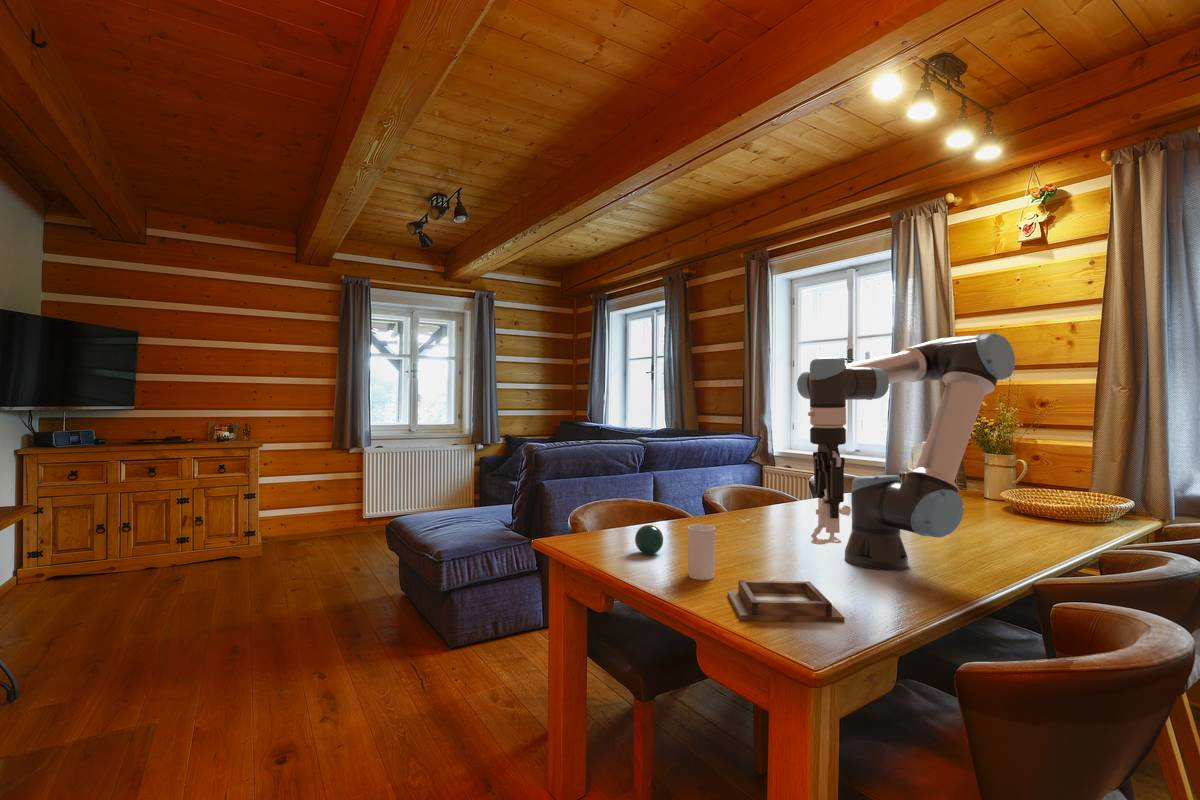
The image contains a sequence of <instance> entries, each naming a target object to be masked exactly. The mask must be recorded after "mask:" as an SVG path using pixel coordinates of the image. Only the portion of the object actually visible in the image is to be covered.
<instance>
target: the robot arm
mask: <svg viewBox="0 0 1200 800" xmlns="http://www.w3.org/2000/svg"><path fill="white" fill-rule="evenodd" d="M1015 367H1016V358H1015V352H1014V350H1013V347H1012V345H1011V343H1010V341H1008V339H1007V338H1006V337H1005V336H1004V335H1001V334H1000V333H996V332H995V333H994V332H993V333H992V332H991V333H984V332H980V333H978V334H971V335H961V336H952V337H951V336H950V337H942V338H941V337H940V338H938V339H937V338H936V339H932V340H930V341H926V342H922V343H919V344H916V345H912V346H909V347H908V346H907V347H905V348H902V349H900V351H899V352H898V353H892V354H888V355H884V356H878V357H873V358H869V359H864V360H861V361H860V360H859V361H853V362H850V363H846V361H845V359H844V358H843V357H822V358H821V357H820V358H819V357H818V358H814V359H812V360H811V361H810V364H809V370H805V371H803V372H802V373H801V374H800V375H799V376H798V378H797V381H796V387H797V391H798V393H799V395H800V396H801V397H803V398H804V399H807V400H809V409H810V410H809V411H808V413H807V415H808V416H809V418H810V419H809V423H810V425H811V426H812V427H810V429H809V437H810V438H809V440H810V441H809V442H810V443H811V444H813V445H817V451H813V452H812V458H813V475H814V476H813V477H814V478H813V479H814V480H813V483H814V494H815V495H816V497H817V499H818V500H817V501H818V503H817V504H818V508H817V509H819V501H820V499H821V498H823V497H824V496H825V493H824V490H825V489H827V501H824V503H825V504H826V522H825V523H824V526H823V528H825V533H827V534H828V533H829V534H830V533H834V534H835V533H836V534H837V533H838V534H839V533H840V512H839V509H840V504H841V503H844V502H845V497H844V496H845V495H844V494H845V491H844V490H845V489H844V487H845V484H844V482H845V481H844V479H845V476H844V475H845V474H844V472H845V463H846V462H845V461H846V458H845V457H841V454H840V449H839V446H842V445H845V444H846V443H847V429H846V427H844V426H846V424H847V404H846V403H847V402H846V401H847V400H849V401H850V400H856V401H857V400H866V401H868V400H869V401H872V400H877V399H880V398H883V397H884V396H885V395H886V394H887V392H888V390H889V387H890V386H889V385H890V384H895V383H899V382H904V381H906V382H908V383H916V382H920V381H942V382H943V383H944V384H945V388H944V391H943V394H942V395H941V398H940V402H939V405H938V408H937V410H936V412H935V416H934V418H933V421H932V423H931V427H930V428H929V432H928V435H927V437H926V440H925V443H924V446H923V448H922V450H921V452H920V456H919V459H918V462H917V464H916V466H915V469H912V470H909V471H907V472H906V475H905V476H904V477H905V478H904V479H903V482H902V479H901V477H900V475H896V474H895V475H893V474H890V475H889V474H888V475H885V474H884V475H880V474H879V475H861V476H856V477H854V479H853V480H852V483H851V484H852V485H851V490H850V491H851V492H850V493H851V495H850V496H851V498H850V499H851V531H850V535H849V537H848V541H847V544H846V546H845V548H844V560H845V561H846V562H848V563H850V564H852V565H855V566H859V567H862V568H868V569H872V570H873V569H874V570H885V571H887V570H888V571H891V570H892V571H896V570H903V569H906V568H907V567H909V559H908V558H909V557H908V555H907V551H906V547H905V545H904V543H903V539H902V537H901V530H903V531H907V532H909V533H912V534H913V533H914V534H917V535H919V536H921V537H922V536H923V537H932V538H944V537H946V536H948V535H951V534H952V533H954V532H955V530H956V529H957V528H959V526H960V524H961V522H962V520H963V516H964V513H965V511H964V508H963V506H964V502H963V498H962V497H961V496H960V494H959V490H960V488H959V486H958V485H957V484H956V482H955V480H956V477H957V475H958V472H959V469H960V466H961V463H962V460H963V458H964V454H965V452H966V449H967V447H968V443H969V440H970V438H971V435H972V432H973V429H974V427H975V423H976V420H977V418H978V415H979V412H980V410H981V406H982V404H983V402H984V398H985V396H986V395H988V394H992V393H993V392H994V391H995V389H996V385H997V384H998V381H1003V380H1007V379H1008V378H1009V377H1011V376H1012V374H1013V373H1014V370H1015Z"/></svg>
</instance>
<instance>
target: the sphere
mask: <svg viewBox="0 0 1200 800" xmlns="http://www.w3.org/2000/svg"><path fill="white" fill-rule="evenodd" d="M634 543H635V546H636V547H637V549H638V550H639V552H641V553H643V554H646V555H654V554H656V553H658V552H659V551H661V549H662V547H663V545H664V535H663V532H662V531H661V530H660V528H658V527H657V526H655V525H653V524H646V525H643V526H641V527H639V528H638V530H637V531H636V533H635V536H634Z"/></svg>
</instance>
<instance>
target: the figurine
mask: <svg viewBox="0 0 1200 800" xmlns="http://www.w3.org/2000/svg"><path fill="white" fill-rule="evenodd" d="M824 493H825V496H824V497H823V498H821V499H820V501H819V509H818V508H817V509H815V515H817V516H818V517H817V518H818V519H817V521H818V522H817V527H815V528H814V529H813V530H814V531H813V532H812V533H811V535H810V537H811V539H812V540H811V541H810V543H811V544H812V545H813V544H815V545H826V544H833V543H834V544H842V540H841V539H839V538H838V537H836V536H835V533H829V538H824V539H823V538H818V535H819V534H821V532H822V530H823V526H824V523H825V522H826V504H825V503H824V501H827V489H825V490H824ZM851 513H852V508H851V506H849V505H845V504H844V505H843V506H842V507H841V508H840V507H839V515H843V516H846V517H850V516H851Z"/></svg>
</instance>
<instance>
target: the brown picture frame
mask: <svg viewBox="0 0 1200 800" xmlns="http://www.w3.org/2000/svg"><path fill="white" fill-rule="evenodd" d="M727 597H728V599H729V601H730V603H731V605H732V607H733V608H734V609H733V610H735V613H736V614H737V616H738V618H739V620H740V621H745V622H748V621H749V622H750V621H753V622H754V621H757V622H759V621H760V622H762V621H763V622H797V623H798V622H802V623H803V622H804V623H805V622H809V623H810V622H811V623H845V616H843V614H842V613H841V612H840V611H839V610H838V609H837V608H836V607H835V606H834V605H833V604H832V602H831V601H830V600H828V598H827V596H825V595H824V594H823V593H822V592H821V591H820V590H819V589H818V588H817V587H816V586H815V585H814V584H813V583H812V582H811V581H803V580H802V581H801V580H800V581H796V580H795V581H794V580H741V579H740V580H739V579H738V590H727Z"/></svg>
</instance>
